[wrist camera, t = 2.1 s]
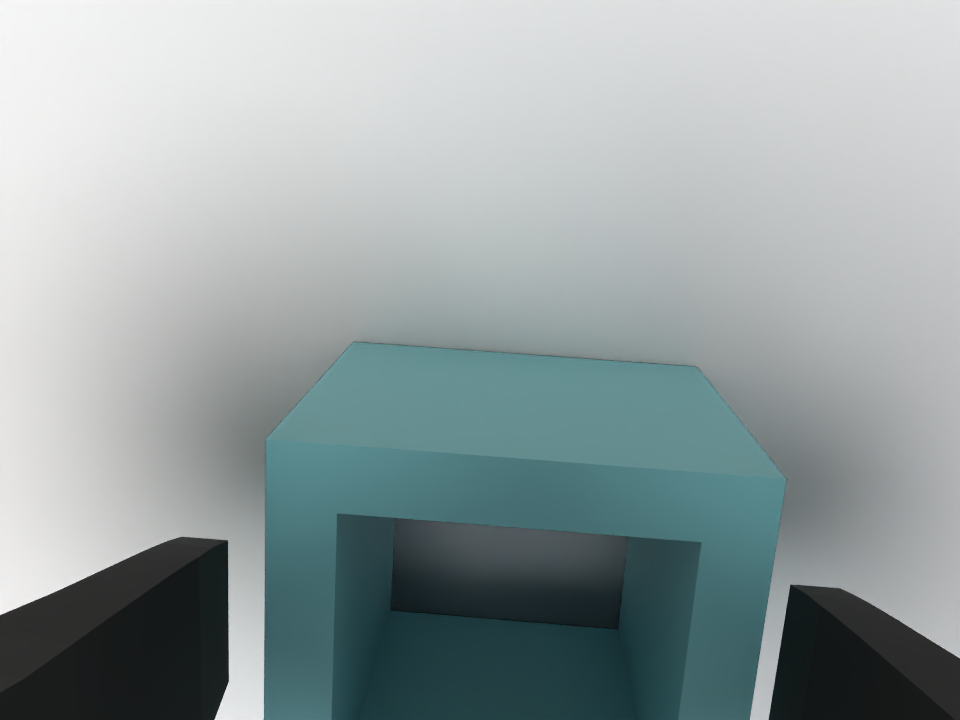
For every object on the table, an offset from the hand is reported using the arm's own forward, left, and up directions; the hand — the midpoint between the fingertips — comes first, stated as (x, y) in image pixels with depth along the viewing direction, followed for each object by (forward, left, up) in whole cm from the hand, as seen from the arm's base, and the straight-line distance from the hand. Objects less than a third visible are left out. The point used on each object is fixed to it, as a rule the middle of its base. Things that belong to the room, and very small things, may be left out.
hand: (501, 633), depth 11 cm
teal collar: (0, 0, -4) cm, 4 cm away
